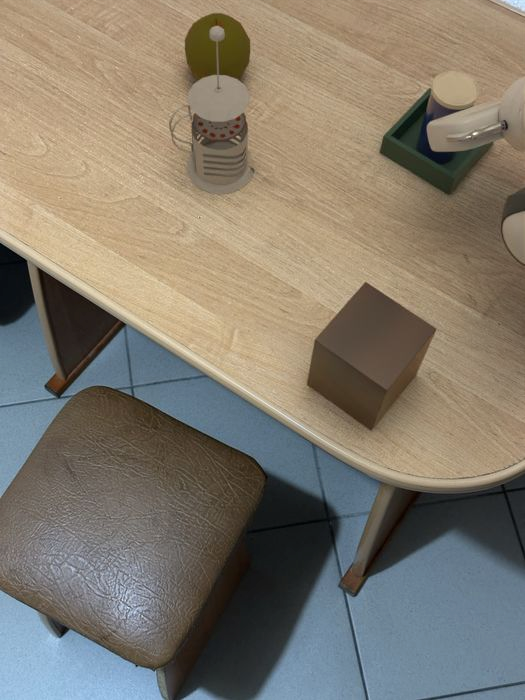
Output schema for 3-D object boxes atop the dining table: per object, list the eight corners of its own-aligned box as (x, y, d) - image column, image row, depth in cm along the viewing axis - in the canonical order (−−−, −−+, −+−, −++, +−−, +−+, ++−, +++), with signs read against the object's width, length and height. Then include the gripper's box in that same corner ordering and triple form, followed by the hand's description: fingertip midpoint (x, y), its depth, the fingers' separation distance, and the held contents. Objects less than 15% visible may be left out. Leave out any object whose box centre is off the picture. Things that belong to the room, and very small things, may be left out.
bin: (491, 148, 124) (499, 127, 120) (447, 198, 119) (454, 179, 115) (423, 108, 127) (429, 87, 123) (378, 156, 122) (383, 135, 118)
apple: (235, 108, 126) (235, 51, 116) (176, 90, 127) (171, 32, 117) (259, 62, 130) (261, 4, 120) (201, 45, 131) (198, -14, 122)
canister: (465, 146, 123) (487, 85, 112) (442, 172, 120) (463, 112, 110) (430, 125, 124) (448, 63, 114) (407, 150, 122) (423, 90, 111)
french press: (261, 188, 119) (266, 52, 97) (180, 200, 118) (166, 65, 95) (247, 136, 123) (249, -6, 101) (169, 147, 122) (154, 6, 100)
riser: (416, 374, 106) (436, 328, 96) (371, 431, 102) (387, 390, 92) (352, 330, 109) (365, 281, 98) (306, 384, 105) (314, 339, 94)
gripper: (467, 168, 96) (409, 161, 108) (613, 115, 100) (542, 114, 113) (457, 113, 94) (399, 113, 106) (607, 61, 98) (534, 67, 111)
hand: (473, 113), depth 109 cm, fingers open, 8 cm apart
